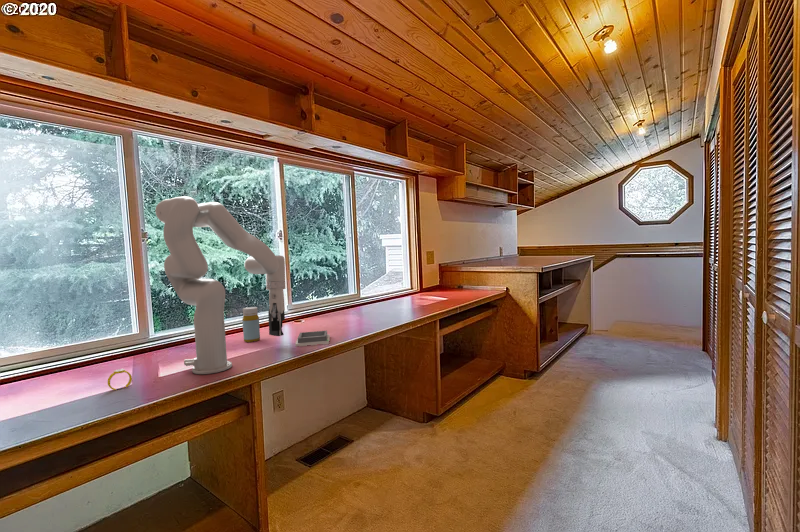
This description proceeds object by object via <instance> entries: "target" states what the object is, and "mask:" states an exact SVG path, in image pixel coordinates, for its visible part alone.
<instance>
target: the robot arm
mask: <svg viewBox="0 0 800 532" xmlns="http://www.w3.org/2000/svg"><path fill="white" fill-rule="evenodd" d="M155 216H156V217H157V219H158V220H159V221H160V222H161V223H163V224H164V226H163V239H164V242H165V245H166V247H167V249H168V251H169V253H170V254H169V255H168V256H167V257H166V258H165V260H164V262H163V268H164V273H165V275H166V277H167V279H168V280H169V283H170V284H171V285H172V286H171V287H172V288H173V289H174V291H175V293H176V294H177V296H178V298H179V300H181V301H182V302H183V303H184V304H186V305H189V306H195V309H194V314H193V327H194V329H193V330H194V339H195V341H194V342H195V353H196V354H195V355H196V357H194V358H187V359H184V360H183V365H184V366H186V367H189V366H192V368H191V369H192V373H193V374H195V375H210V374H217V373H220V372H223V371H227V370H229V369H230V368H232V367H233V362H232V361H230V360H228V355H227V354H228V353H227V342H226V340H227V339H226V328H225V327H226V324H225V302H226V288H225V287H224V285H223V284H222V283H221V282H220V281H218V280H216V279H215V278H214V279H213V278H202V277H204V276H205V275H206V274H207V272H208V269H209V265H208V261H207V259H206V258H205V256H204V254H203V251H202V250H201V248H200V247H199V244H198V242H197V240H196V238H195V235H194V228H207V227H209V228H210V230H212V232H214V234H215V235H216V236H217V237H218V238H219V239H220V240H221V241H222V242H223V243H224V245H225V246H227V247H229V248H230V249H232V250H236V251H240V252H242V253H244V254H246V255H248V257H247V258H246V259H245V260H244V269H245V271H247V272H248V273H249V274H252V275H265V286H266V287H265V290H266V291H267V290H268V291H269V292H268V299H269V300H268V302H269V305H268V306H269V308H268V309H270V314H272V321H271V326H272V331H280V321H279V313H281V314H282V313H283V310H284V312H285V311H286V309H285V307H286V306H285V293H284V290H285V289H286V288H287V287H286V263H285V262H286V261H285V260H286V259H285V257H284V255H281V254H280V255H276V254H275V253H274V252H273V250H271V248H270V247H269V246H268V245H267V244H266V243H265V242H263V241H262V240H260V238H257V237H256V236H254V235H253V234H251V233H249V232H247V231H246V229H244V228H243V227H242V225H241V224H240V223H239V222H238V221H237V220H236V218H235V217H234V216H233V215H232V214H231V212H230V211H229V210H228V209H227V208H226V207H225V206H224V205H223V204H222V203H220V202H216V201H210V202H202V203H198V201H196V200H195V199H194V198H193V197H191V196H187V195H186V196H176V197H172V198H166V199H163V200H161V201H159V202H158V203H157V204H156V206H155ZM271 311H272V312H271ZM277 311H278V313H276V312H277Z"/></svg>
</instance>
